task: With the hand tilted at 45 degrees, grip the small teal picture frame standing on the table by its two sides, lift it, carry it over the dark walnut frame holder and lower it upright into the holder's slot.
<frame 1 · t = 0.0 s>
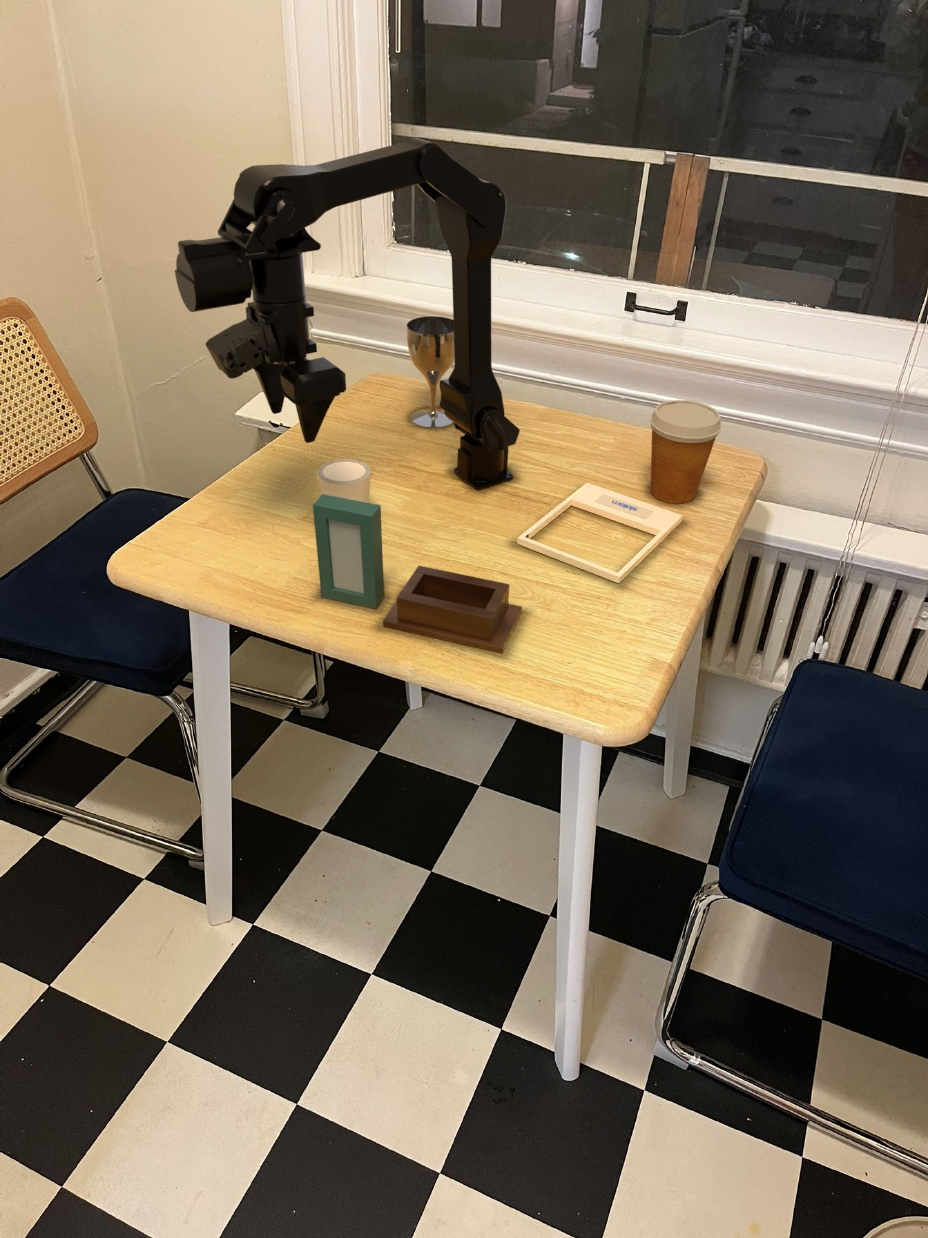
hand: (292, 426, 109), 15 cm above the table, tool pointing down, fingers open, 9 cm apart
wine glass: (433, 419, 146), on the table
disposable coffee cup: (672, 493, 128), on the table
picture frame: (352, 597, 107), on the table
frame holder: (453, 619, 104), on the table
photo frame: (601, 533, 119), on the table
beige cup: (347, 518, 121), on the table
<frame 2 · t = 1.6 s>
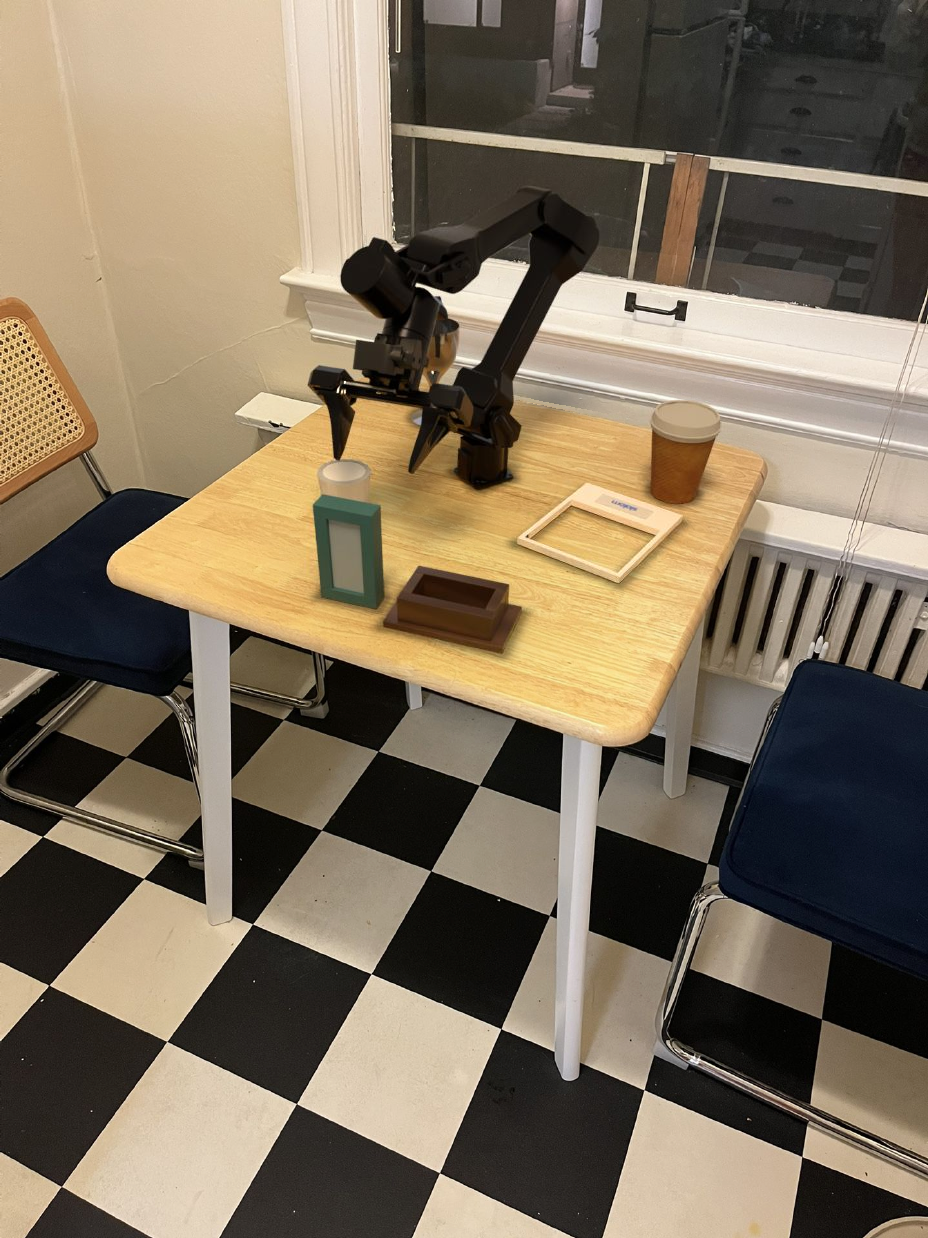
hand: (373, 466, 104), 13 cm above the table, tool tilted 45°, fingers open, 9 cm apart
nothing on the table moved.
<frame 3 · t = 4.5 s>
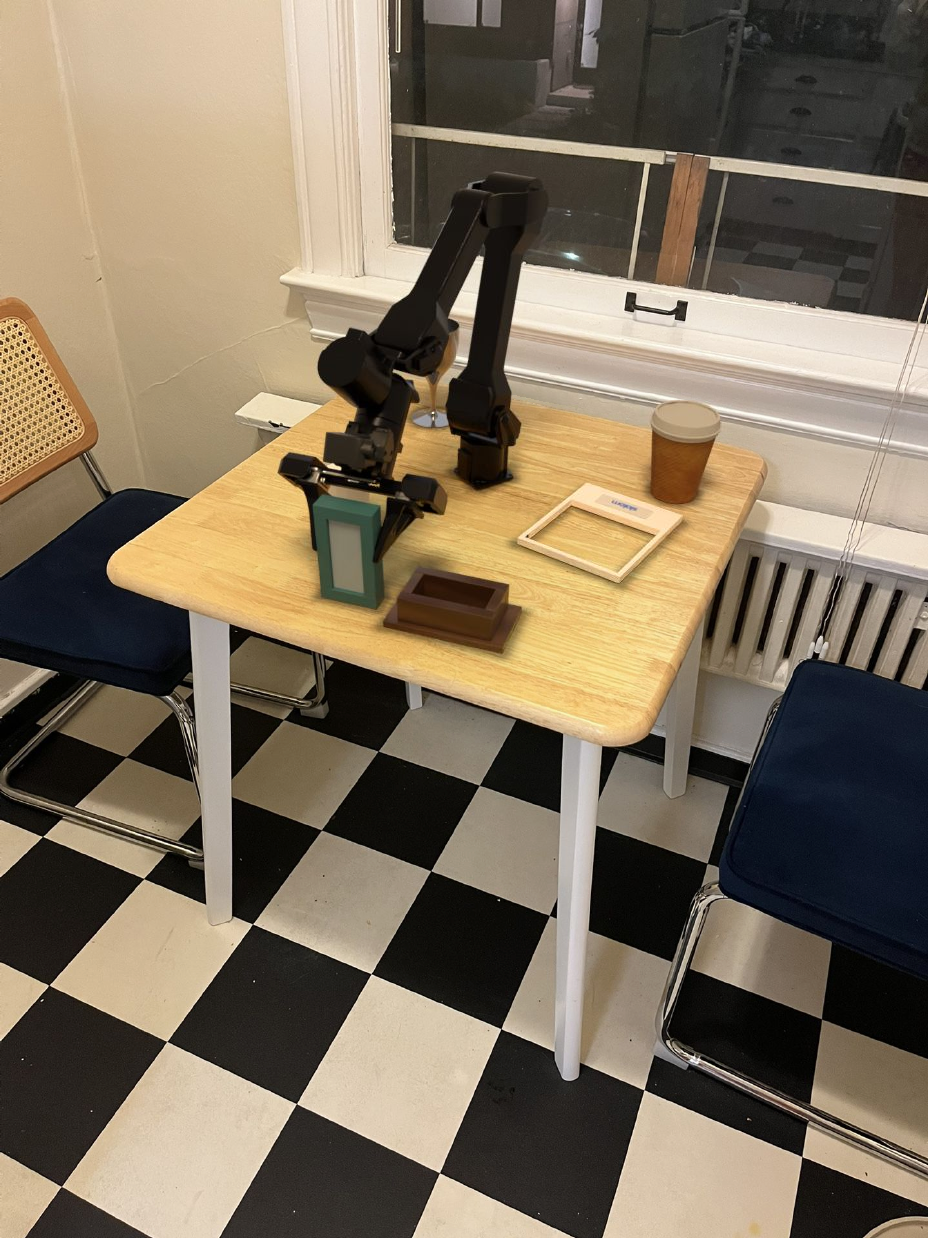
hand: (344, 556, 101), 7 cm above the table, tool tilted 45°, fingers closed on picture frame, 7 cm apart
picture frame: (352, 597, 107), on the table, touching gripper
everything else where it was.
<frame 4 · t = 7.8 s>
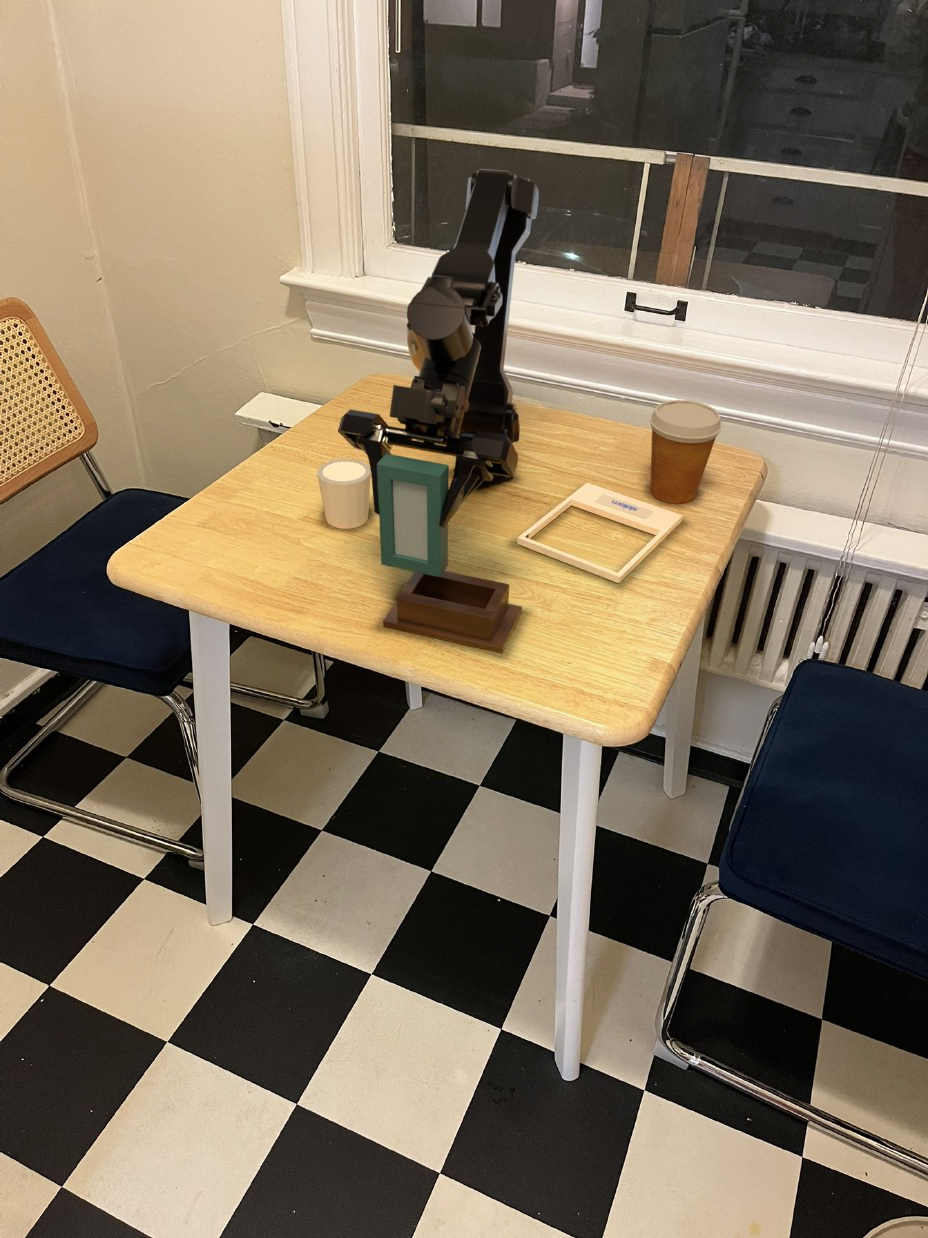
hand: (408, 519, 96), 13 cm above the table, tool tilted 45°, fingers closed on picture frame, 7 cm apart
picture frame: (414, 565, 101), point 6 cm above the table, touching gripper
everything else where it was.
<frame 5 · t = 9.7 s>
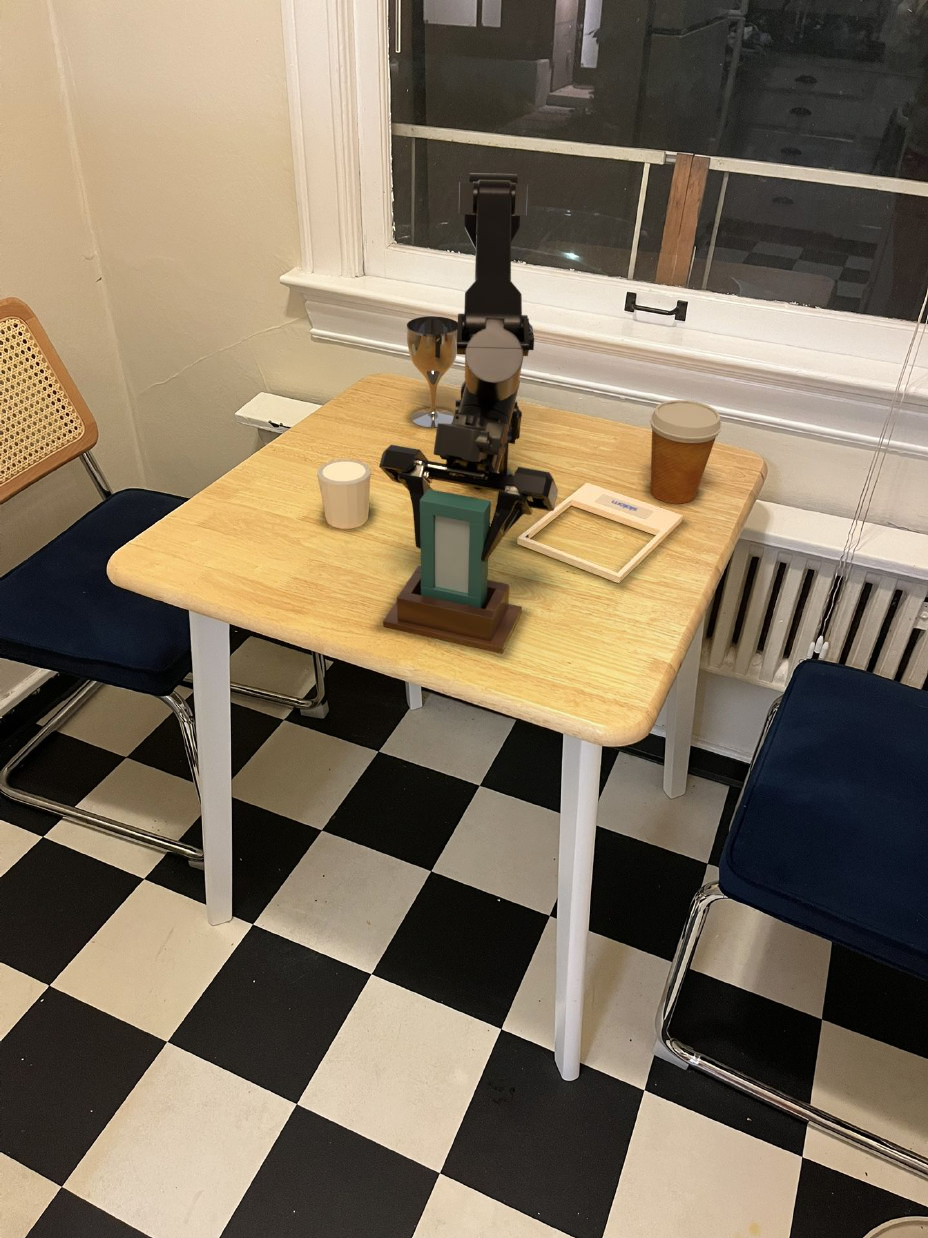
hand: (450, 554, 97), 10 cm above the table, tool tilted 45°, fingers closed on picture frame, 7 cm apart
picture frame: (453, 597, 102), point 3 cm above the table, touching gripper
everything else where it was.
when the fingers open (7 cm above the table, at t = 11.1 s): picture frame stays where it is, resting on frame holder.
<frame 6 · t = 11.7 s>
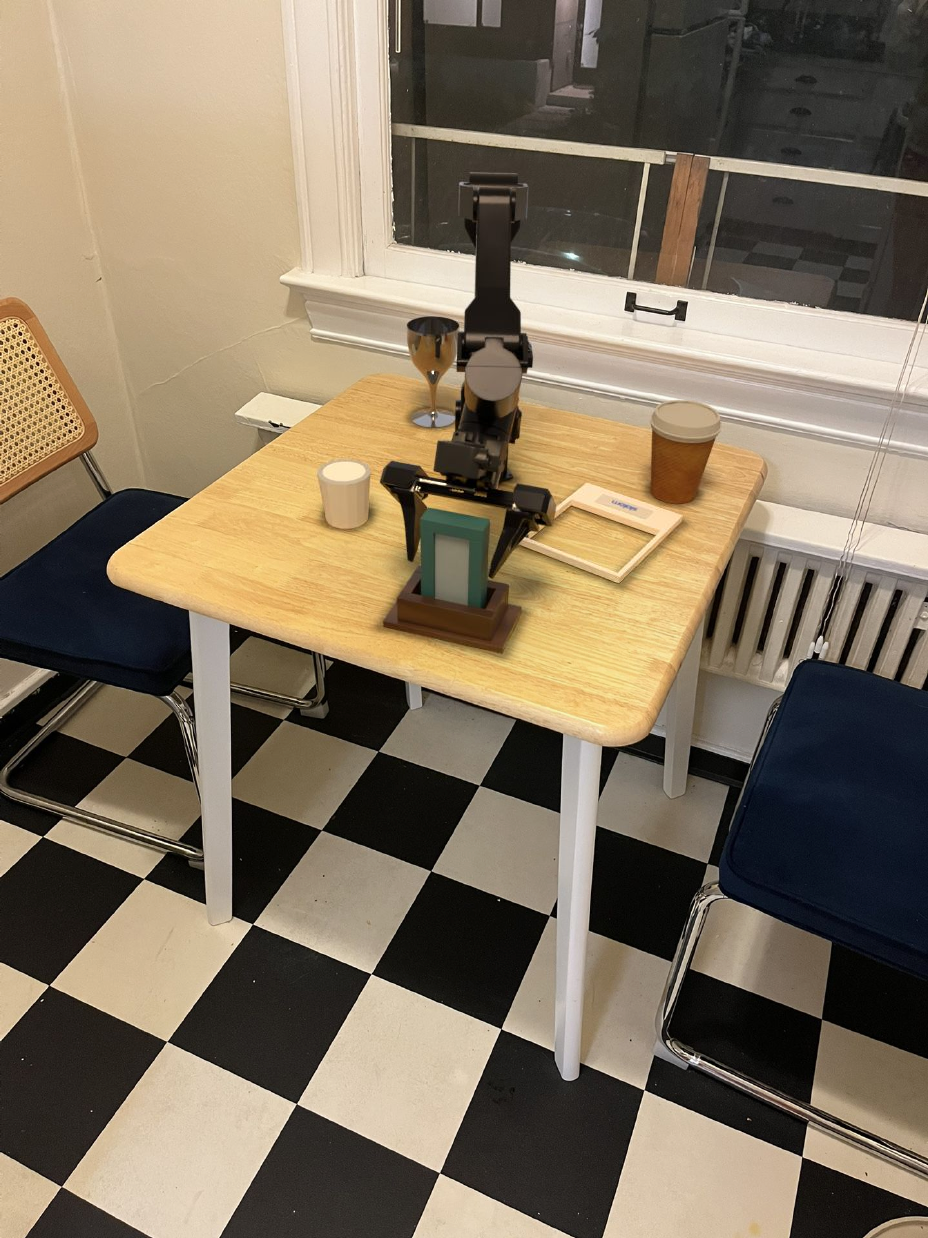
hand: (449, 569, 98), 8 cm above the table, tool tilted 45°, fingers open, 9 cm apart
picture frame: (453, 613, 103), point 1 cm above the table, touching frame holder
everything else where it was.
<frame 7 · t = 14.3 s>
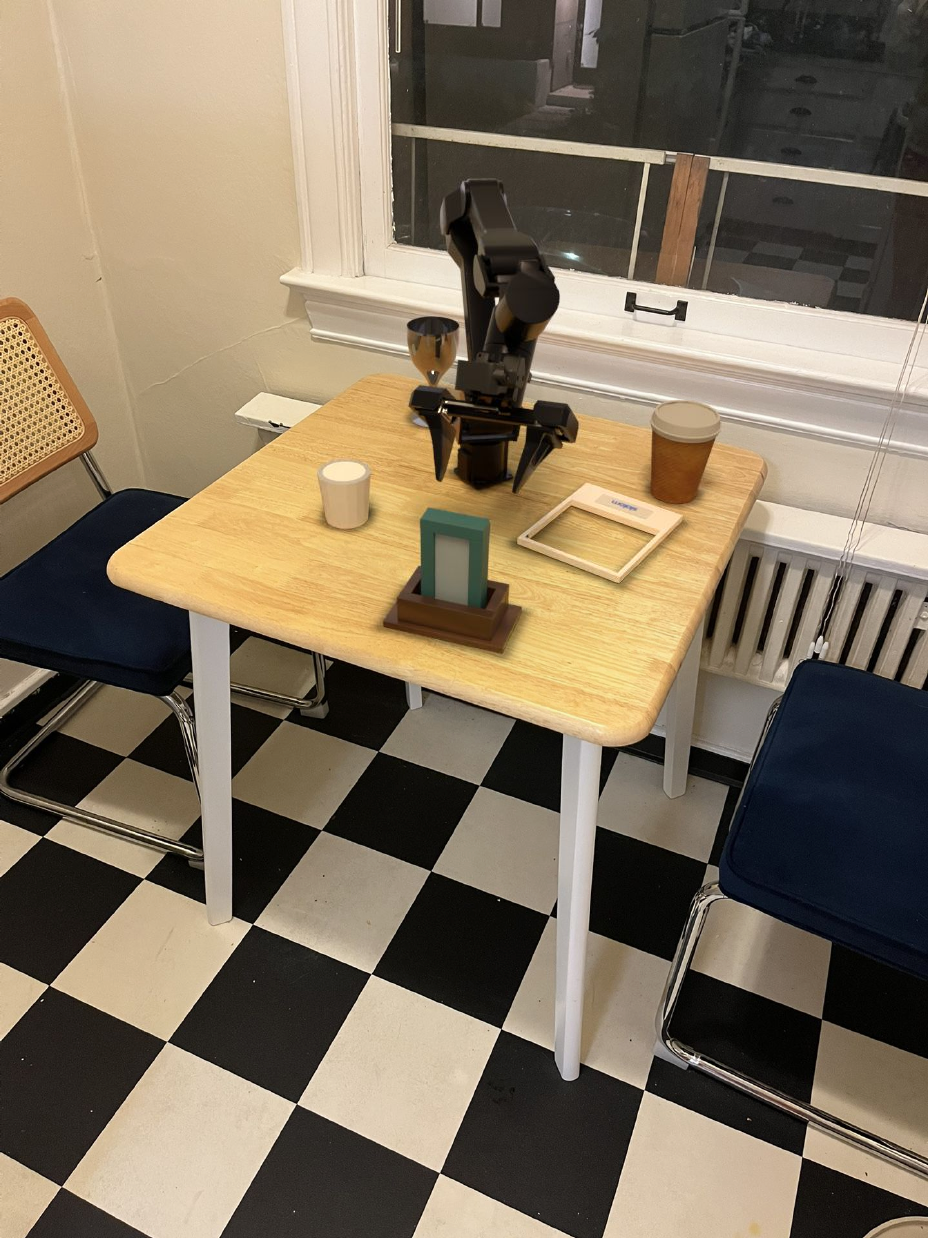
hand: (476, 487, 102), 13 cm above the table, tool tilted 40°, fingers open, 9 cm apart
nothing on the table moved.
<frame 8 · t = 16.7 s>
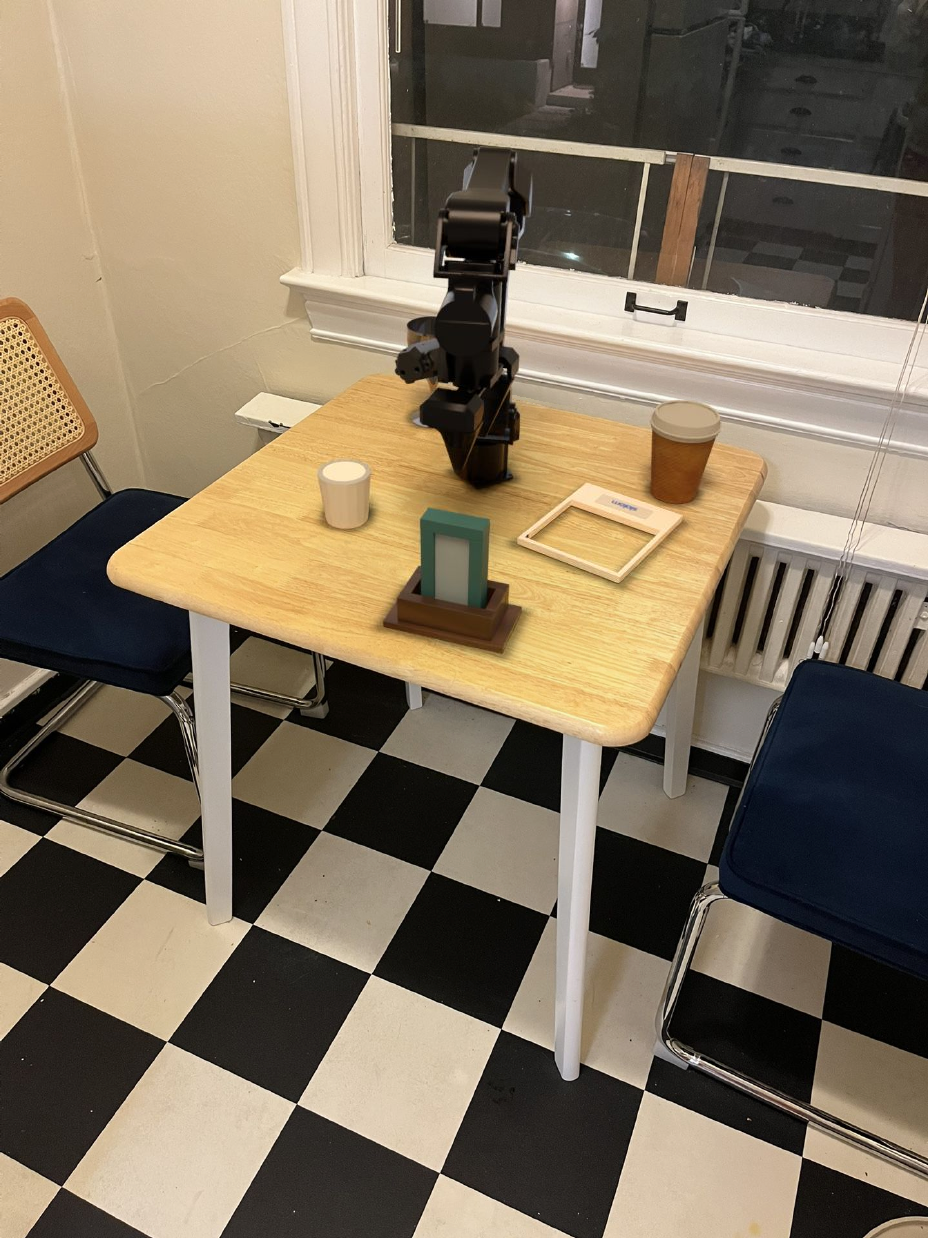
hand: (470, 452, 108), 13 cm above the table, tool pointing down, fingers open, 9 cm apart
nothing on the table moved.
at the end: picture frame 0.1 cm off-centre on the frame holder, point 0.8 cm above the frame holder's base; picture frame tilted 0°; the gripper is holding nothing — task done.
